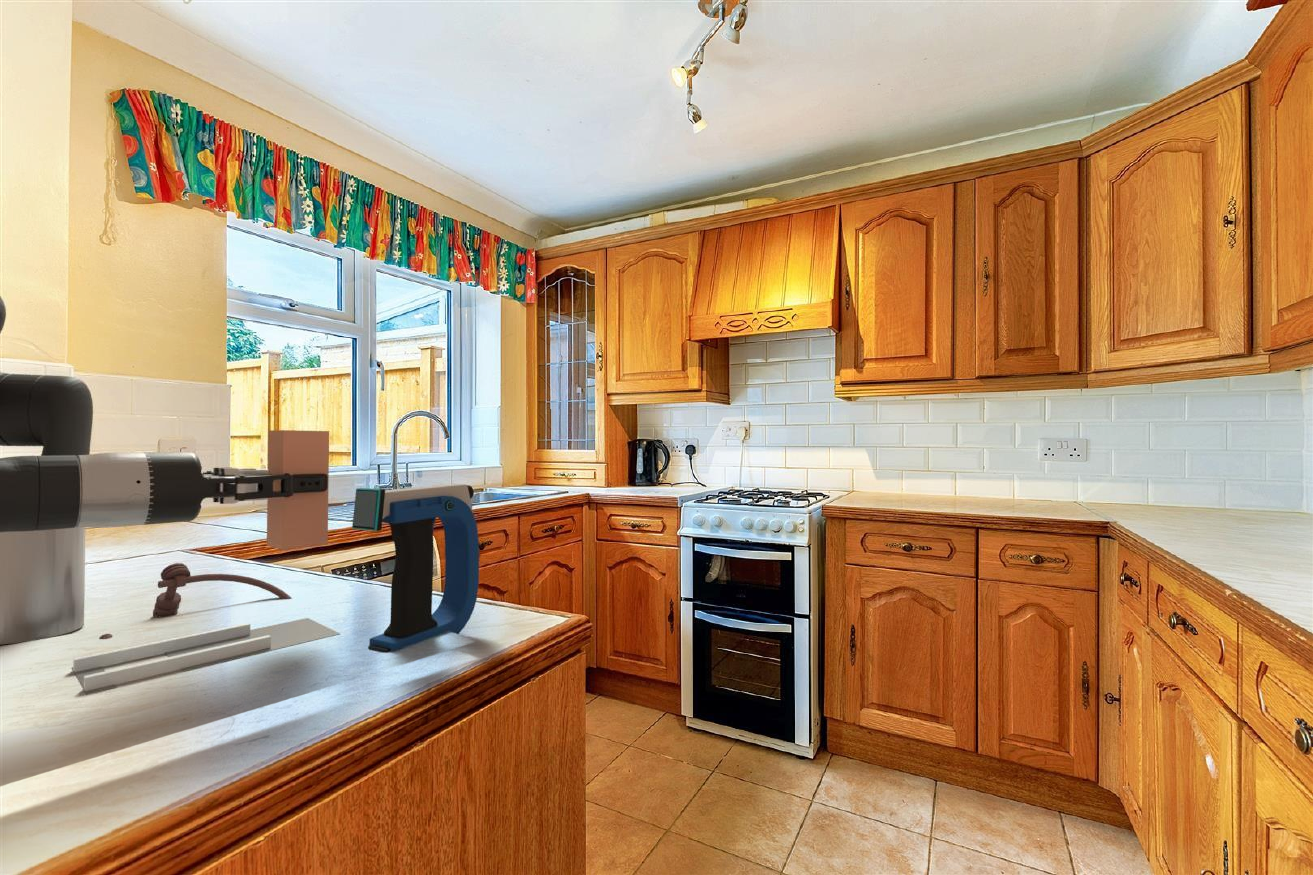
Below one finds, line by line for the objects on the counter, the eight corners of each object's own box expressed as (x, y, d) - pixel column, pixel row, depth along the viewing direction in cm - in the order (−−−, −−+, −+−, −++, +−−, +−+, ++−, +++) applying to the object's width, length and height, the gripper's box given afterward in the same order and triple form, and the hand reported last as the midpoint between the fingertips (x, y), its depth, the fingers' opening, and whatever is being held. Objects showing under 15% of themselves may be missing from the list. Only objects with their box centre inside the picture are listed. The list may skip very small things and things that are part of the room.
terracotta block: (266, 545, 70) (268, 430, 71) (311, 539, 74) (313, 431, 75) (281, 550, 67) (283, 430, 67) (327, 544, 71) (329, 431, 71)
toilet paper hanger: (109, 648, 66) (75, 574, 72) (95, 702, 68) (63, 625, 75) (304, 603, 85) (264, 547, 91) (289, 647, 87) (250, 590, 93)
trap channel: (71, 682, 59) (71, 655, 59) (307, 629, 76) (307, 608, 76) (86, 710, 53) (87, 681, 53) (340, 646, 70) (340, 623, 70)
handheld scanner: (345, 665, 64) (349, 487, 64) (454, 624, 78) (457, 480, 78) (374, 673, 62) (378, 490, 62) (480, 630, 76) (483, 481, 76)
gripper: (154, 453, 55) (342, 452, 68) (124, 451, 64) (296, 450, 77) (153, 532, 55) (341, 515, 68) (123, 518, 64) (295, 506, 77)
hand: (316, 481), depth 73 cm, fingers closed on terracotta block, 5 cm apart
